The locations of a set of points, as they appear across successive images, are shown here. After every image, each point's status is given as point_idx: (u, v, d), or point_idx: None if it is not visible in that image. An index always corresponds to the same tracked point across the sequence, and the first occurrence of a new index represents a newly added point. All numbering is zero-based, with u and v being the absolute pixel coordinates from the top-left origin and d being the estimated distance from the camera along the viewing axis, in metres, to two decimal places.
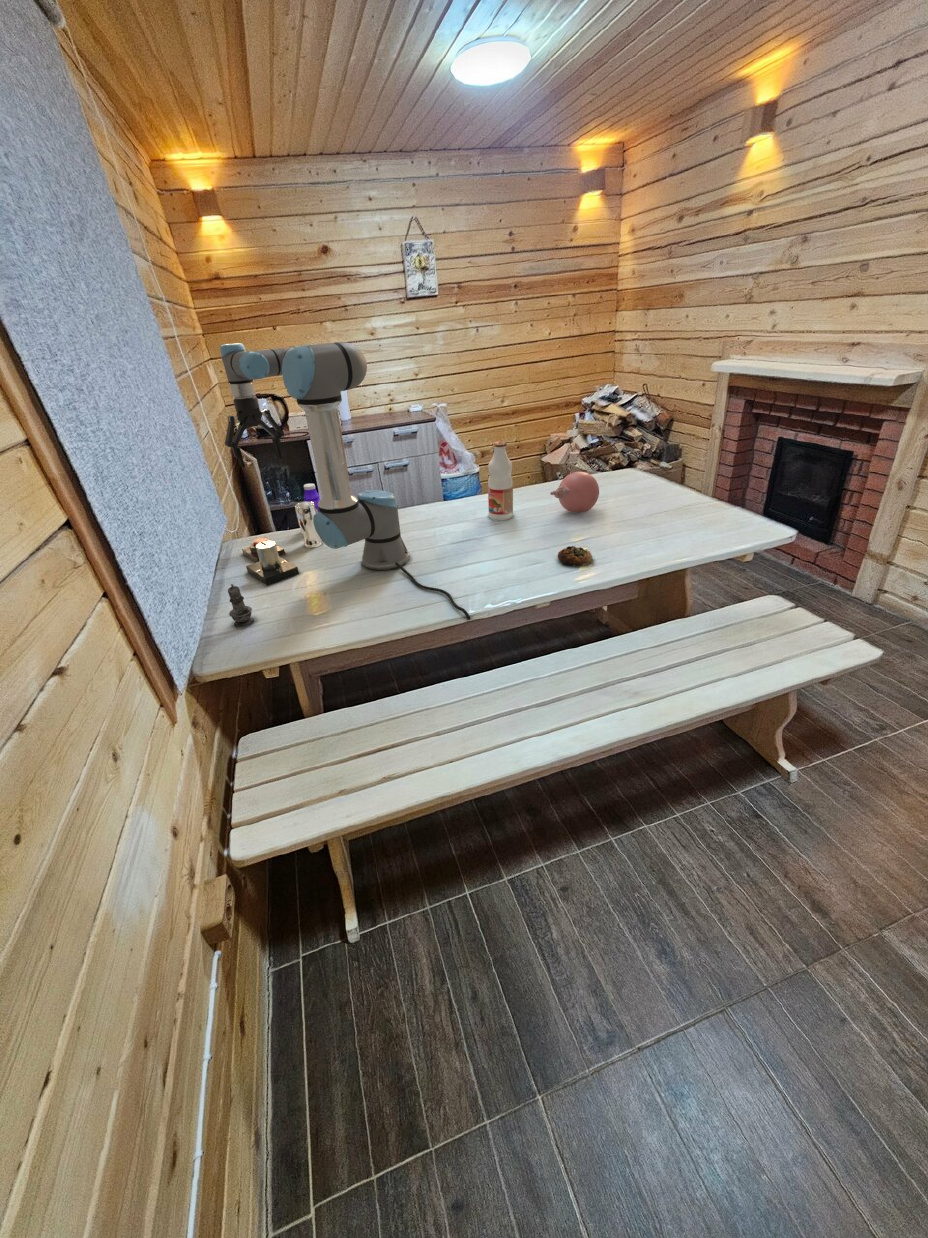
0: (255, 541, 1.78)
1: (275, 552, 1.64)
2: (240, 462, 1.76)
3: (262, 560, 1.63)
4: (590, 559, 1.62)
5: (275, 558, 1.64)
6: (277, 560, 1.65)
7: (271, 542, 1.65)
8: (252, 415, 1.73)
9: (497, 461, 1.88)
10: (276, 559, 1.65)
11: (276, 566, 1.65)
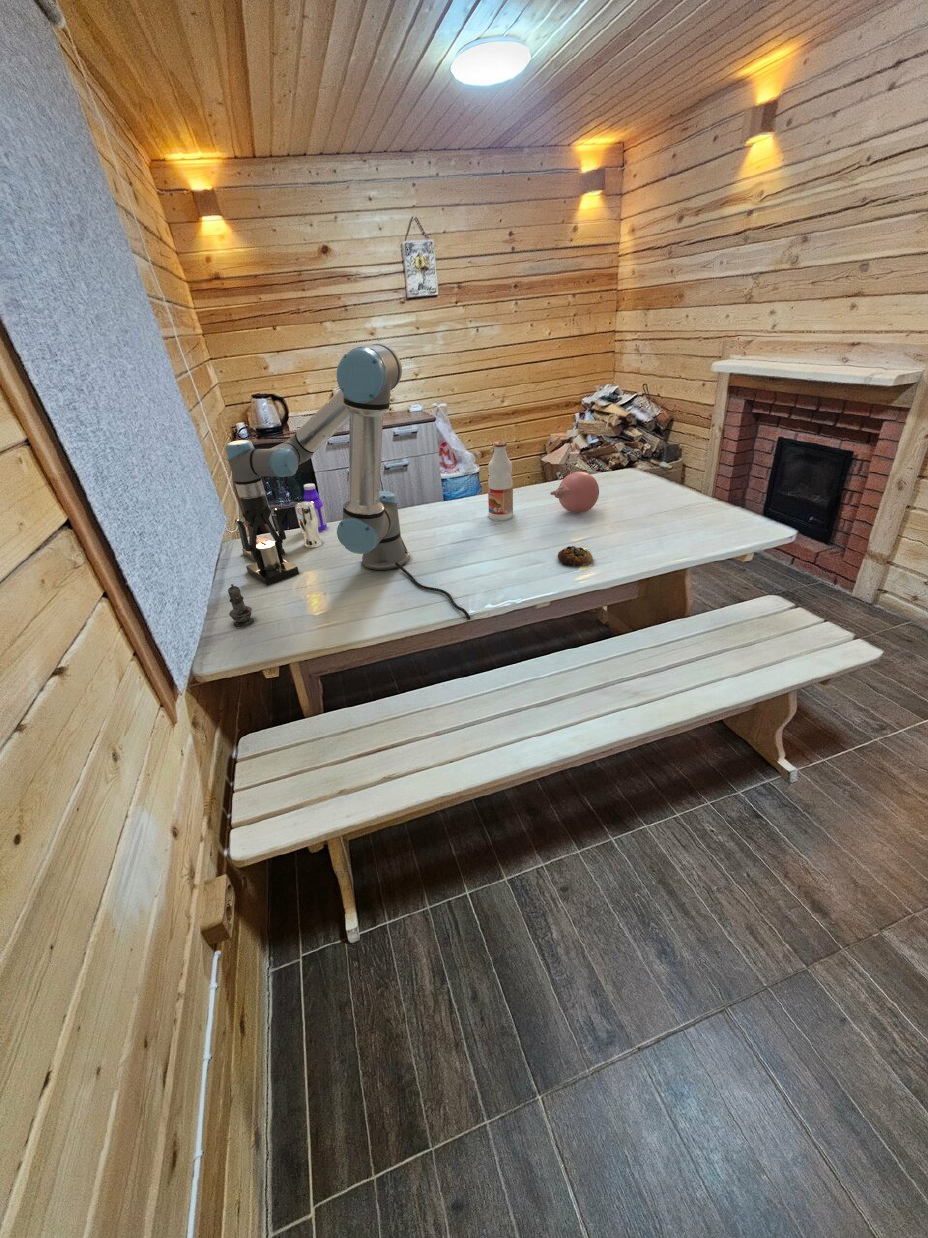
0: None
1: (275, 552, 1.64)
2: (259, 565, 1.64)
3: (262, 560, 1.63)
4: (590, 559, 1.62)
5: (275, 558, 1.64)
6: (277, 560, 1.65)
7: (271, 542, 1.65)
8: (261, 514, 1.58)
9: (497, 461, 1.88)
10: (276, 559, 1.65)
11: (276, 566, 1.65)
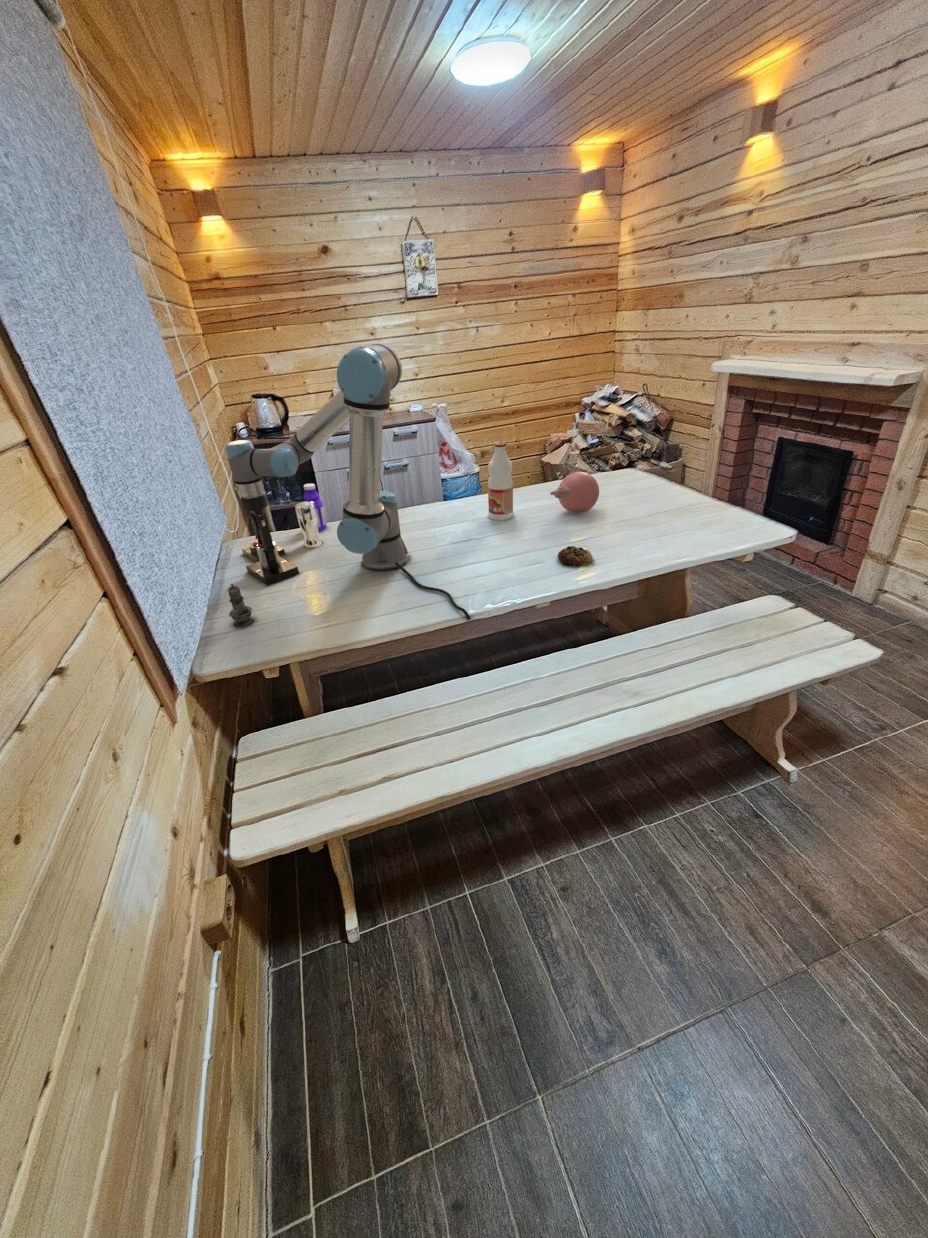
0: (255, 541, 1.78)
1: None
2: (273, 564, 1.64)
3: None
4: (590, 559, 1.62)
5: None
6: None
7: None
8: None
9: (497, 461, 1.88)
10: None
11: None
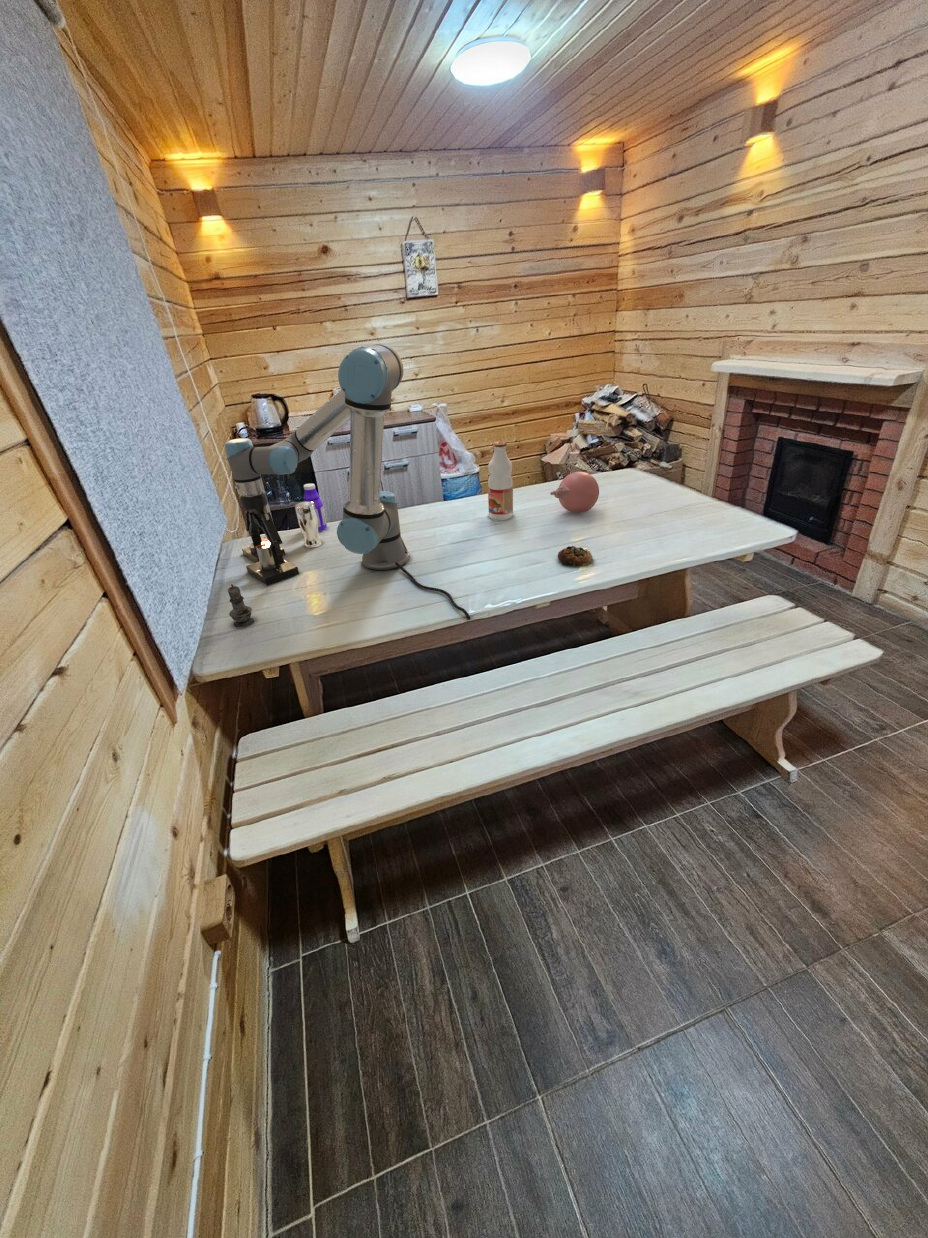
0: None
1: None
2: (280, 559, 1.61)
3: None
4: (590, 559, 1.62)
5: None
6: None
7: (262, 543, 1.65)
8: None
9: (497, 461, 1.88)
10: None
11: None
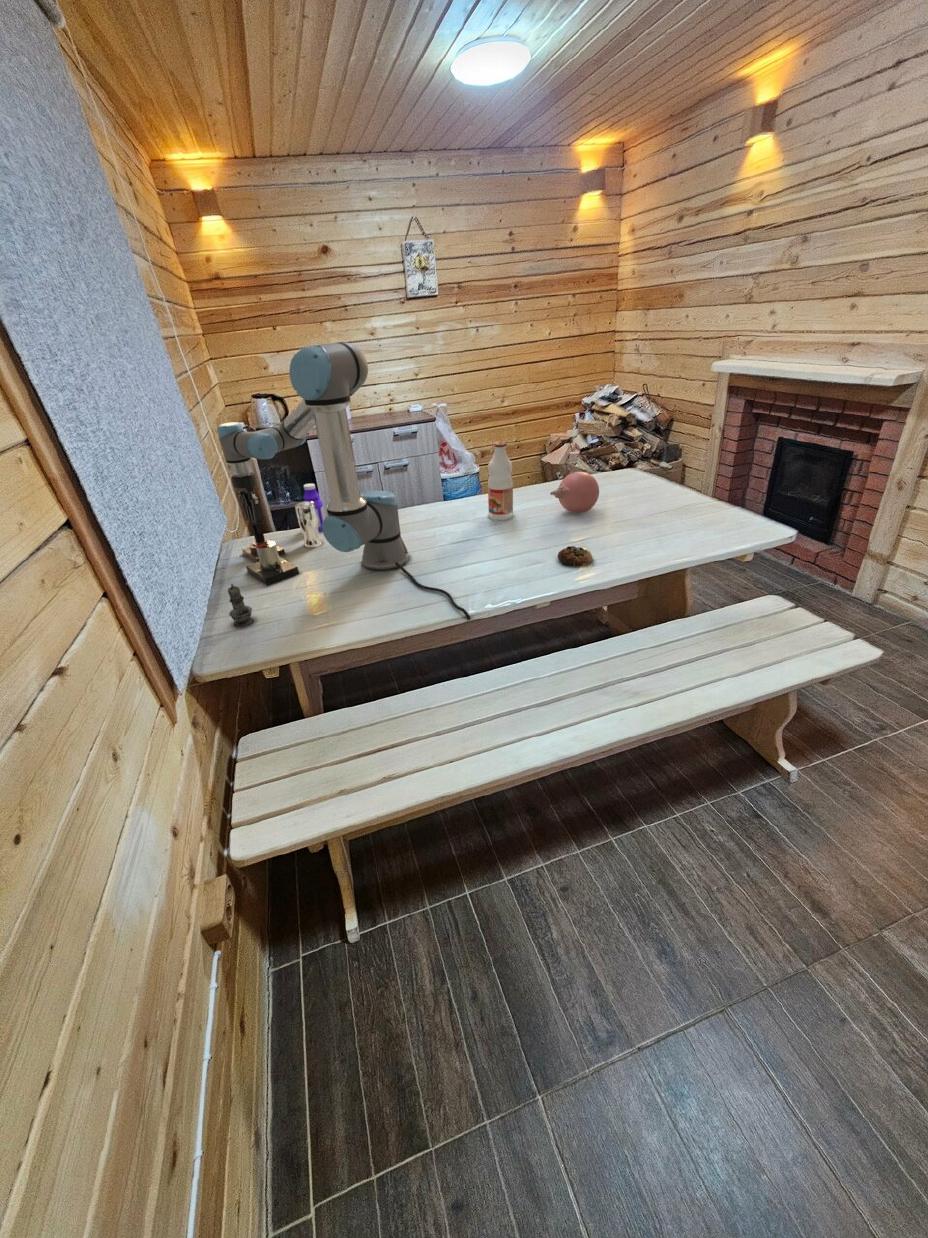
0: (256, 543, 1.79)
1: None
2: (261, 537, 1.79)
3: (275, 558, 1.64)
4: (590, 559, 1.62)
5: None
6: None
7: (262, 543, 1.65)
8: None
9: (497, 461, 1.88)
10: None
11: None
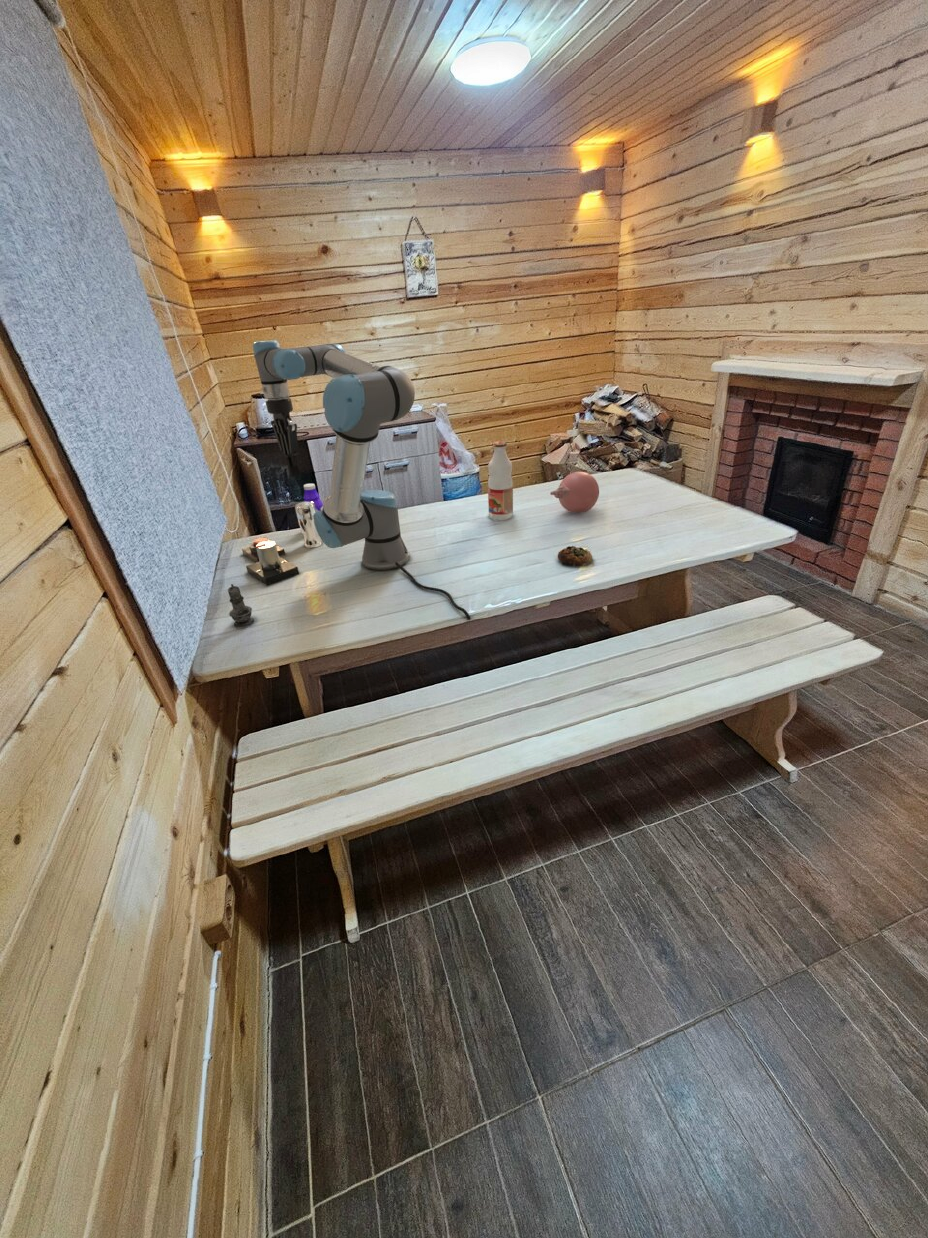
0: (255, 541, 1.78)
1: None
2: (296, 471, 1.68)
3: (275, 558, 1.64)
4: (590, 559, 1.62)
5: None
6: None
7: (262, 543, 1.65)
8: None
9: (497, 461, 1.88)
10: None
11: None
